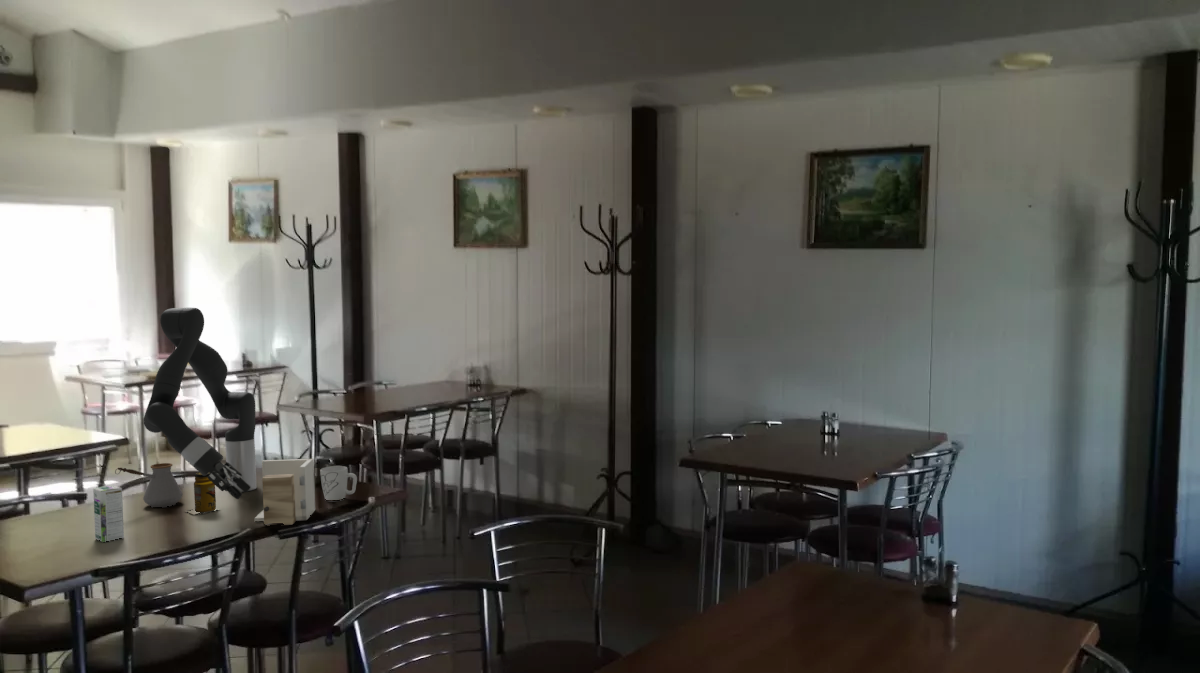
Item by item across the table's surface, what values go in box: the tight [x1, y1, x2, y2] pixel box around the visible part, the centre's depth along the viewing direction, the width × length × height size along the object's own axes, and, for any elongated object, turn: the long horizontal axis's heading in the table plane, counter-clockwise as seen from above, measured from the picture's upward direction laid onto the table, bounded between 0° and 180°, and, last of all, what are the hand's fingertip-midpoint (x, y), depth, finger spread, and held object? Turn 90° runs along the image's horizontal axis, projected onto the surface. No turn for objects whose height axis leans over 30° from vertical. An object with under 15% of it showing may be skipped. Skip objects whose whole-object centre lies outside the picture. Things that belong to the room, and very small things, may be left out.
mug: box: [319, 465, 358, 501], centre depth 302 cm, size 11×8×10 cm
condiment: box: [184, 471, 217, 515], centre depth 290 cm, size 7×8×12 cm
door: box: [261, 474, 296, 526], centre depth 274 cm, size 5×8×14 cm, turn 95°
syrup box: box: [92, 485, 125, 543], centre depth 260 cm, size 6×6×14 cm
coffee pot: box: [114, 462, 184, 508], centre depth 294 cm, size 21×12×15 cm, turn 153°
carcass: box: [254, 458, 316, 522], centre depth 281 cm, size 14×15×16 cm
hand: (244, 493), depth 273 cm, fingers open, 8 cm apart
